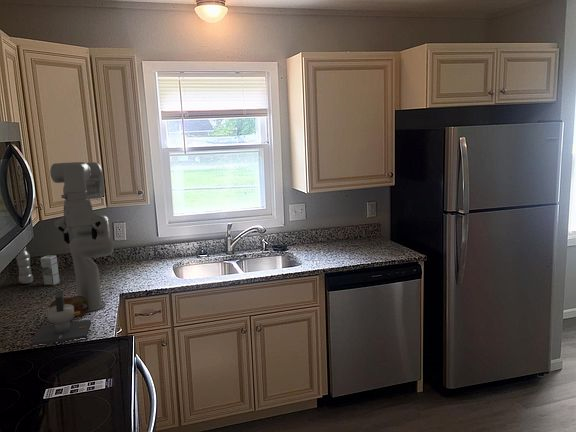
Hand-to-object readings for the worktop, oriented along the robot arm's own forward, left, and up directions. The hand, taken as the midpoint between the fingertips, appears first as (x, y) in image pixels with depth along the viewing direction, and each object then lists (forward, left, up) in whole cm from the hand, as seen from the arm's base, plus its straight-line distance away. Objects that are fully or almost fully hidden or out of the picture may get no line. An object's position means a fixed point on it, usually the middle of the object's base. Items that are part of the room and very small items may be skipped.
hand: (81, 241), depth 188 cm
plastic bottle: (-78, -38, -34) cm, 93 cm away
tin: (-15, -9, -35) cm, 39 cm away
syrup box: (-72, -25, -34) cm, 84 cm away
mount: (+5, -9, -34) cm, 36 cm away
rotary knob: (+5, -8, -28) cm, 30 cm away
